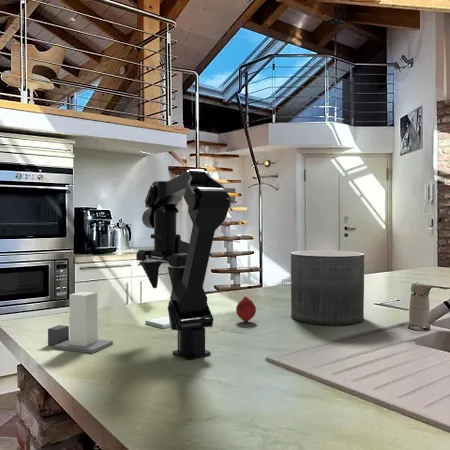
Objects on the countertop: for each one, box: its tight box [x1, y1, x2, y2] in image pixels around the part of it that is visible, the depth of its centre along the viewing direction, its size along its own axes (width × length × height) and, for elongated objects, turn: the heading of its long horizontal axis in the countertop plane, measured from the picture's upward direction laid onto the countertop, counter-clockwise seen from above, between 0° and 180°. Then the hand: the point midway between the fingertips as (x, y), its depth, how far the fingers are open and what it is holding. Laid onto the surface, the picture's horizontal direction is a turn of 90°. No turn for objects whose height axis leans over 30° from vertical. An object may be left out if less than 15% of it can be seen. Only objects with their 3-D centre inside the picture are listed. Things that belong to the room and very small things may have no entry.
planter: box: [290, 250, 365, 327], centre depth 140 cm, size 22×22×20 cm
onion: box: [235, 294, 257, 323], centre depth 135 cm, size 6×6×8 cm
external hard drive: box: [144, 315, 196, 329], centre depth 135 cm, size 2×8×12 cm
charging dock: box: [47, 324, 114, 354], centre depth 110 cm, size 14×8×4 cm, turn 70°
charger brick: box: [68, 291, 99, 346], centre depth 110 cm, size 5×5×12 cm
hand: (165, 290), depth 118 cm, fingers open, 9 cm apart
